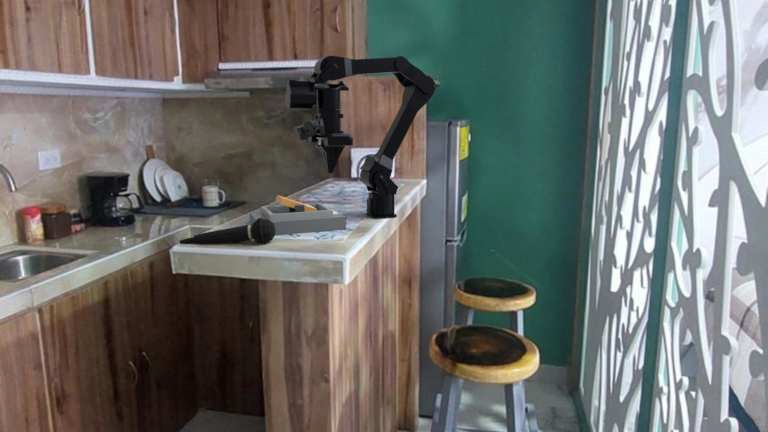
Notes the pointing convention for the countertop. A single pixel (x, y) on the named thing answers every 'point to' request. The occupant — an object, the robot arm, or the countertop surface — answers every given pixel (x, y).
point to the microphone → (237, 234)
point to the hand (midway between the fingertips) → (330, 173)
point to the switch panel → (300, 218)
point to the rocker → (293, 203)
